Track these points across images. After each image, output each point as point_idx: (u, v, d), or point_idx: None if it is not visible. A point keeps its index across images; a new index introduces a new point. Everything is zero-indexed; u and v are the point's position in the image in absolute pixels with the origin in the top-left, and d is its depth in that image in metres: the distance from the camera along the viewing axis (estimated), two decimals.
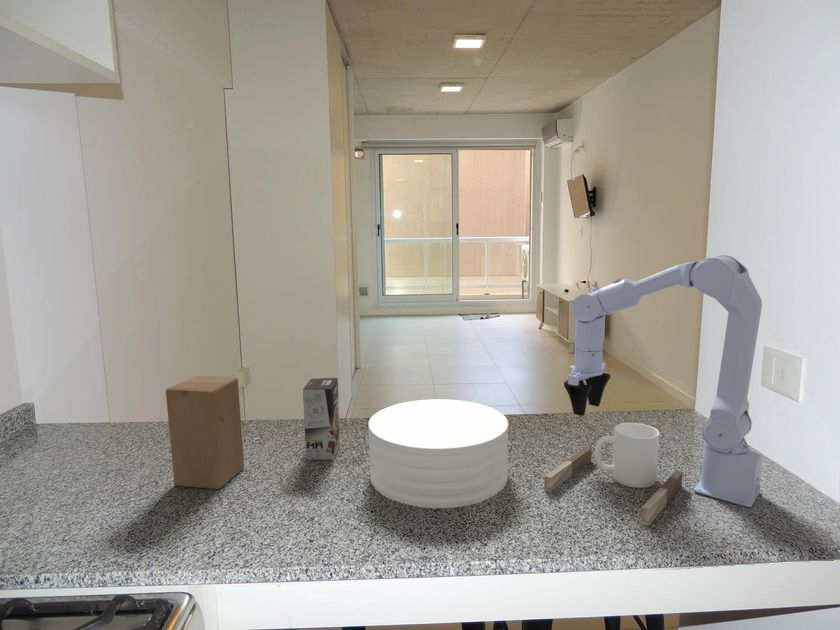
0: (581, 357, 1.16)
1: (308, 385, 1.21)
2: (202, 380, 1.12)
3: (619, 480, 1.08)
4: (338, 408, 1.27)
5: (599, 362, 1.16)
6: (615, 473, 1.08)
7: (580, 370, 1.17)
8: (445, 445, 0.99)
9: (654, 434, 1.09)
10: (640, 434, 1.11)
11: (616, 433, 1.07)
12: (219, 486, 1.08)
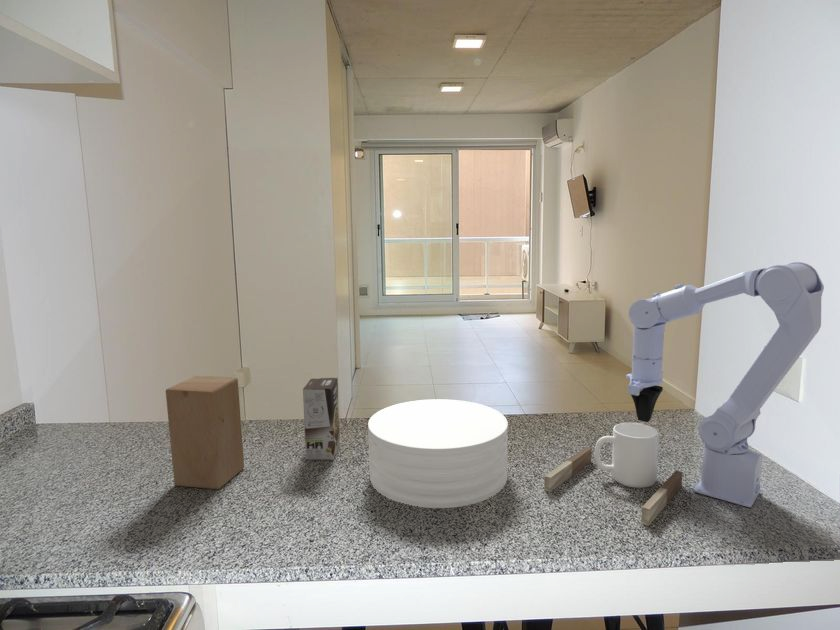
0: (641, 365, 1.11)
1: (308, 385, 1.21)
2: (202, 380, 1.12)
3: (619, 480, 1.08)
4: (338, 408, 1.27)
5: (659, 371, 1.11)
6: (615, 473, 1.09)
7: (639, 379, 1.12)
8: (445, 445, 0.99)
9: (654, 434, 1.09)
10: (640, 434, 1.11)
11: (615, 433, 1.07)
12: (219, 486, 1.08)
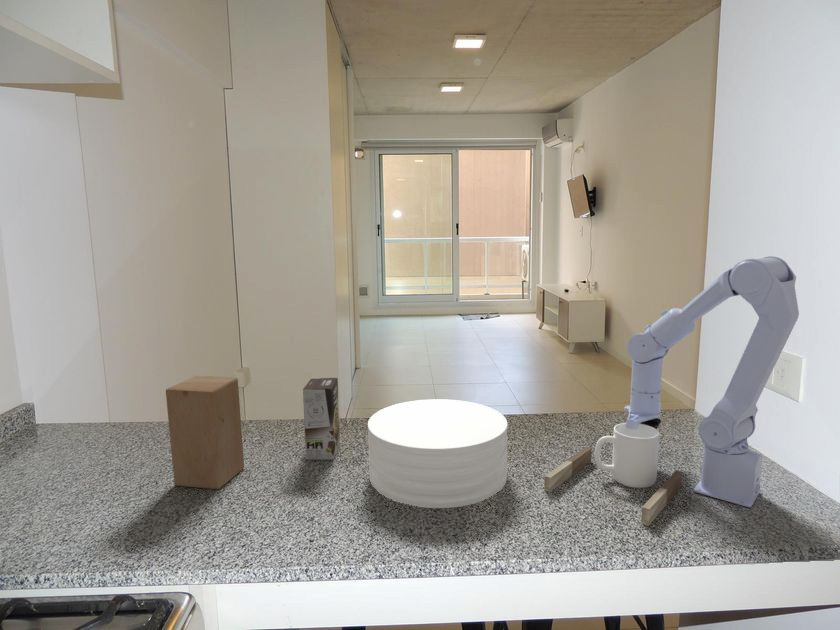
0: (639, 399, 1.12)
1: (308, 385, 1.21)
2: (202, 380, 1.12)
3: (619, 480, 1.08)
4: (338, 408, 1.27)
5: (658, 404, 1.12)
6: (615, 473, 1.08)
7: (637, 412, 1.13)
8: (444, 445, 0.99)
9: (654, 434, 1.09)
10: (640, 434, 1.11)
11: (616, 433, 1.07)
12: (219, 486, 1.08)
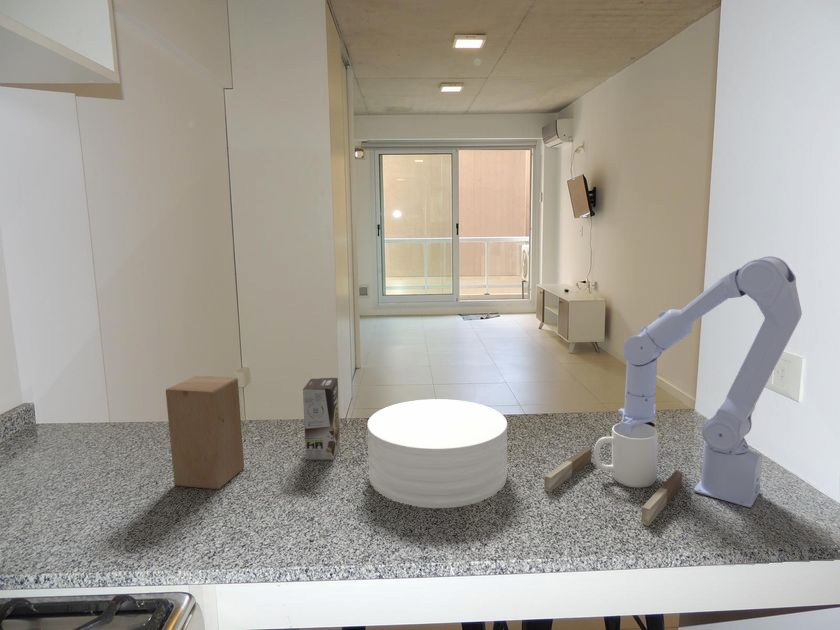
0: (633, 401, 1.10)
1: (308, 385, 1.21)
2: (202, 380, 1.12)
3: (619, 480, 1.08)
4: (338, 408, 1.27)
5: (652, 407, 1.10)
6: (615, 473, 1.08)
7: (631, 415, 1.11)
8: (444, 445, 0.99)
9: (653, 433, 1.08)
10: (639, 433, 1.11)
11: (614, 434, 1.07)
12: (219, 486, 1.08)
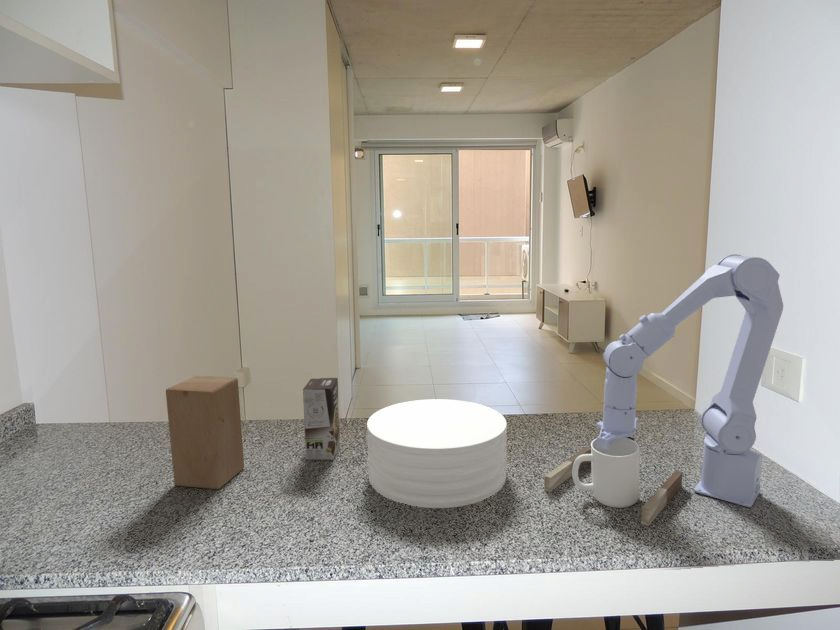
0: (612, 415, 1.02)
1: (308, 385, 1.21)
2: (202, 380, 1.12)
3: (600, 500, 1.00)
4: (338, 408, 1.27)
5: (632, 421, 1.02)
6: (595, 492, 1.01)
7: (610, 429, 1.03)
8: (443, 445, 0.99)
9: (634, 447, 1.01)
10: (619, 447, 1.04)
11: (593, 451, 0.99)
12: (219, 486, 1.08)
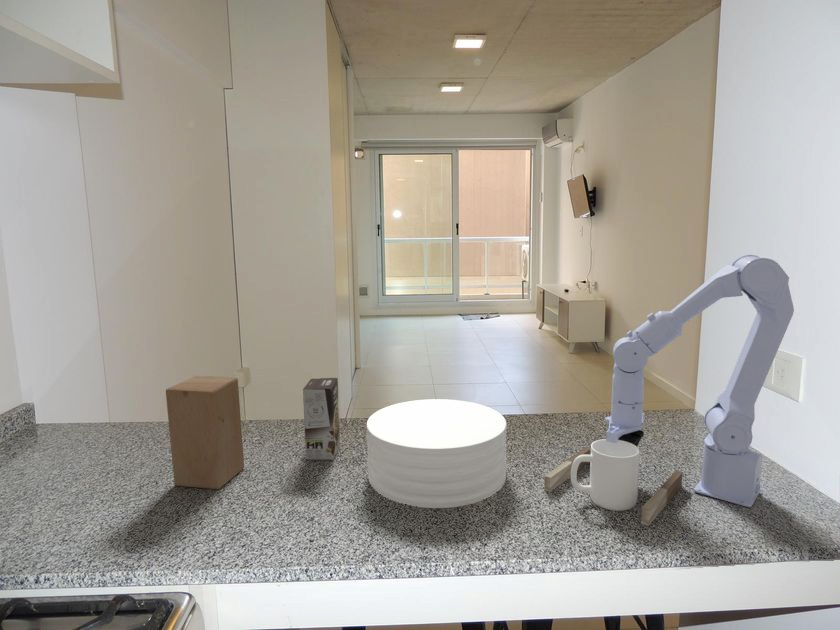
0: (620, 410, 1.05)
1: (308, 385, 1.21)
2: (202, 380, 1.12)
3: (597, 502, 0.99)
4: (338, 408, 1.27)
5: (640, 415, 1.05)
6: (593, 495, 1.00)
7: (618, 424, 1.05)
8: (443, 445, 0.99)
9: (634, 451, 1.01)
10: (619, 451, 1.03)
11: (593, 451, 0.99)
12: (219, 486, 1.08)
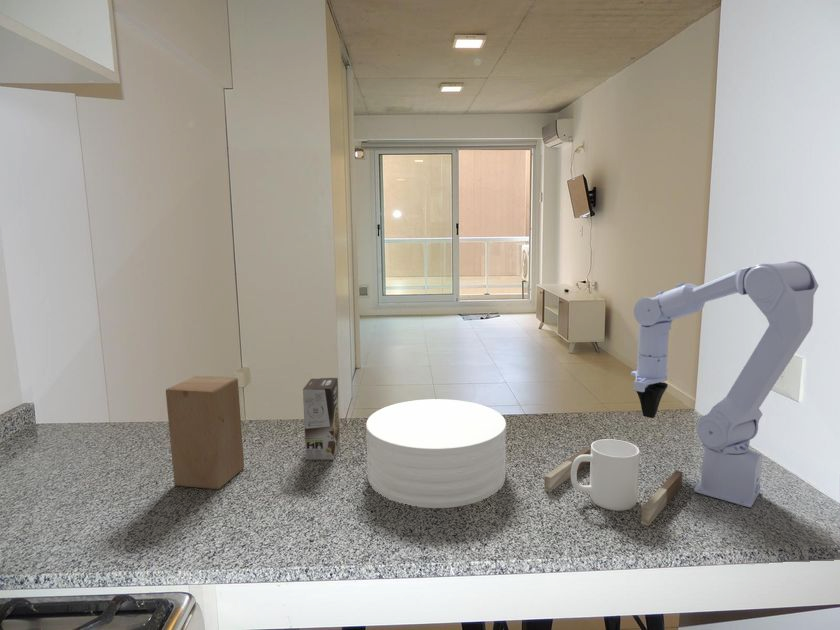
0: (646, 362, 1.13)
1: (308, 385, 1.21)
2: (202, 380, 1.12)
3: (597, 502, 0.99)
4: (338, 408, 1.27)
5: (664, 368, 1.13)
6: (593, 494, 1.00)
7: (644, 376, 1.14)
8: (443, 445, 0.99)
9: (634, 451, 1.01)
10: (619, 451, 1.03)
11: (593, 451, 0.99)
12: (219, 486, 1.08)
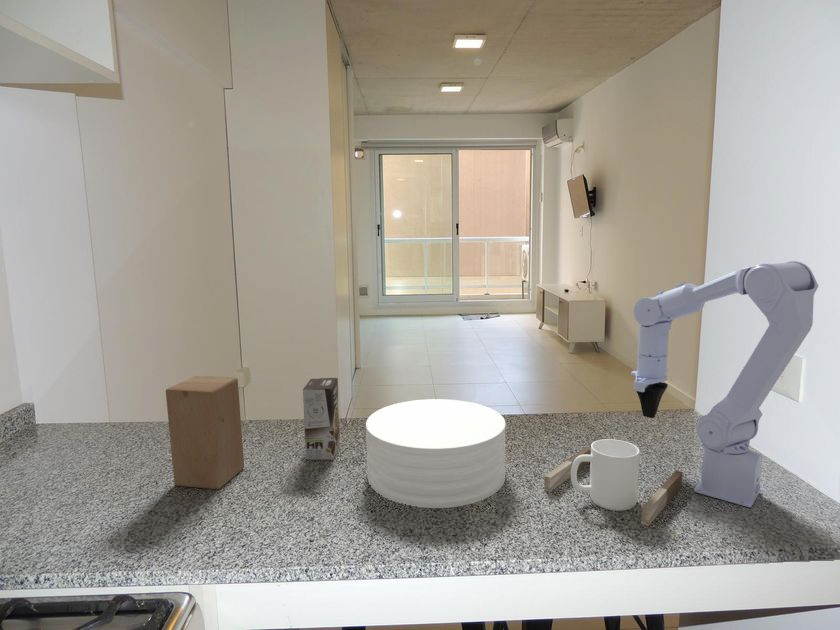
0: (646, 362, 1.13)
1: (308, 385, 1.21)
2: (202, 380, 1.12)
3: (597, 502, 0.99)
4: (338, 408, 1.27)
5: (664, 368, 1.13)
6: (593, 494, 1.00)
7: (644, 376, 1.14)
8: (442, 445, 0.99)
9: (634, 451, 1.01)
10: (619, 451, 1.03)
11: (593, 451, 0.99)
12: (219, 486, 1.08)
